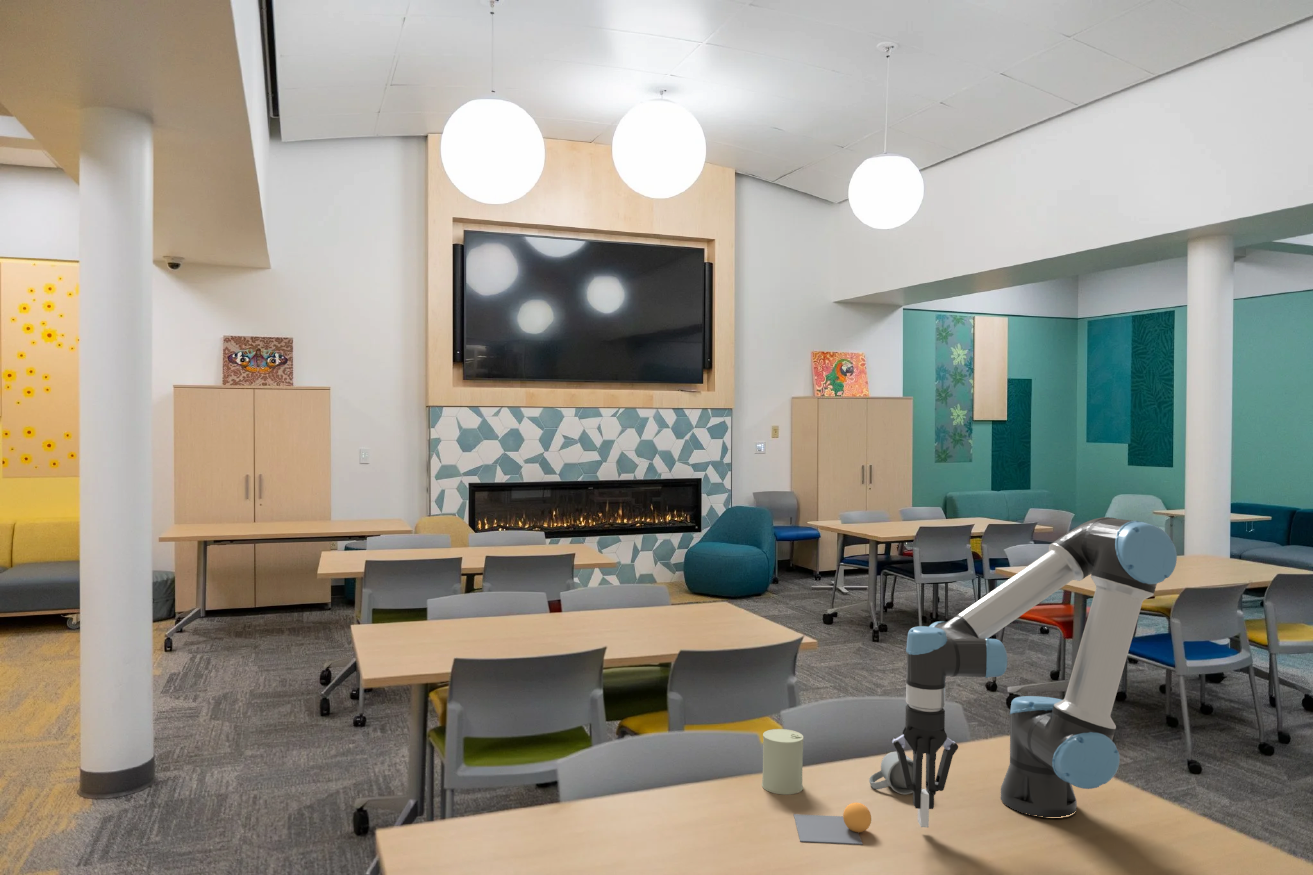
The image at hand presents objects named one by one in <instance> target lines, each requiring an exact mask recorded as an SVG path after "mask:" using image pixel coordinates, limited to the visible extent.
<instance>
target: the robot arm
mask: <svg viewBox="0 0 1313 875" xmlns="http://www.w3.org/2000/svg"><path fill="white" fill-rule="evenodd" d="M1177 554H1178V553H1177V549H1176V546H1175V544H1174V542H1173V541H1172V539H1171V536H1169V534H1168V533H1167V532H1166V531H1165V530H1164V529H1163V528H1161V527H1159V526H1156V525H1155V524H1150V523H1147V522H1144V521H1139V520H1129V519H1122V518H1121V519H1120V518H1114V517H1109V516H1108V517H1107V516H1105V517H1099V518H1093V519H1091V520H1088V521H1085V522H1084V523H1081V524H1080V525H1078V526H1077V527H1075V528H1073V529H1071V530H1069V531H1068V532H1066V533H1065V534H1063V535H1062V536H1060V537H1059V538H1058V539H1056V540H1055V541H1053V542H1051V543H1050V544H1049V545H1048V551H1047V552H1046V553H1044V554H1043V555H1041V556H1040V557H1039V558H1037V559H1036V560H1034V561H1033V562H1031V563H1030V564H1029V565H1026V567H1024V568H1023V569H1021V570H1020V571H1019V572H1017V573H1016V574H1014V575H1013V576H1011V577H1010V578H1008V579H1007V580H1005V581H1004V582H1002V583H1000V585H998V586H997V587H995V588H994V589H993V590H991V591H989V592H988V593H986V595H984V596H983V597H981V598H980V599H979V600H977V601H976V602H975V601H974V603H972V604H970V606H968V607H967V608H965V609H963V610H962V611H961V612H960V613H958V614H957V615H954V616H953V617H952V618H951V619H949V620H947V621H943V620H942V621H935V622H932V623H931V624H930V625H929V626H926V625H925V626H924V625H922V626H914V627H912V628H910V629H909V630H908V632H907V638H906V648H905V652H906V678H905V679H906V681H905V682H906V684H905V685H906V686H905V688H906V689H905V702H906V703H907V704H906V705H905V718H904V719H905V721H904V723H905V725H904V728H903V730H902V734H901V735H900V736H897V737H892V738H891V741H890V742H891V743H892V744H893V747H894V748H895V750H896V752H897V755H898V759H899V764H900V768H901V773H902V777H903V782H904V784H905V786H906V788H907V789H908V790H913V793H912V804H913V807H914V809H917V823H918V825H919V826H920V828H929V825H930V822H929V821H930V819H929V818H930V815H929V814H930V813H929V812H930V810H934V809H935V808H934V807H935V795H936V794H937V792H943V791H944V790H945V787H946V784H947V780H948V775H949V771H950V767H951V764H952V761H953V757H954V755H955V753H956V752H957V751H958V749H959V745H958V744H957V742H955V740H954V739H950V738H949V737H948V733H946V731H945V729H946V728H945V726H946V722H945V721H946V718H945V717H946V711H945V709H944V708H945V707H946V683H947V682H946V679H947V677H948V678H949V677H951V678H954V677H957V678H985V679H988V678H995V677H997V678H998V677H1001V676H1003V675H1004V674H1005V673H1006V671H1007V668H1008V654H1007V653H1008V652H1007V649H1006V647H1005V645H1004V644H1003V642H1002V641H1001V640H999V639H996V638H992V636H994V635H995V634H996V633H998V632H999V631H1000V630H1003V628H1005V627H1006V626H1008V625H1009V624H1010V623H1012V622H1014V621H1015V620H1017V619H1018V618H1020V617H1021V616H1023V615H1024V614H1025V613H1027V612H1028V611H1030V610H1032V609H1033V608H1034V607H1036V606H1037V605H1038V604H1040V603H1041V602H1043V601H1044V600H1046V599H1047V598H1048V597H1050V596H1051V595H1053V594H1055V593H1056V592H1058V591H1059V590H1060V589H1062V588H1063V587H1065V586H1066V585H1067V584H1069V583H1070V582H1072V581H1076V582H1080V581H1083V579H1085V578H1086V577H1089V576H1090V578H1091V580H1092V582H1093V583H1094V586H1095V591H1094V594H1093V597H1092V601H1091V604H1090V608H1089V612H1088V615H1087V618H1086V622H1085V626H1084V630H1083V631H1082V632H1083V633H1082V635H1081V639H1080V643H1079V647H1078V651H1077V653H1076V658H1075V659H1074V664H1073V668H1072V671H1071V675H1070V678H1069V681H1068V686H1067V688H1066V692H1065V696H1064V698H1063V699H1061V698H1055V697H1049V696H1038V695H1027V696H1026V695H1025V696H1022V695H1021V696H1016V697H1015V698H1013V699H1012V700H1011V703H1010V704H1011V705H1010V712H1009V716H1010V717H1009V718H1010V719H1009V720H1010V721H1009V723H1010V725H1009V766H1008V768H1007V770H1006V773H1005V775H1004V776H1005V777H1004V778H1003V781H1002V783H1001V786H1000V801H1001V800H1002V801H1003V802H1002V801H1001V802H1002V803H1003V804H1004V805H1005V804H1006V805H1007V807H1008V806H1009V807H1010V808H1009V807H1008V808H1009V809H1011V808H1012V809H1011V810H1013V809H1014V811H1015V810H1017V811H1016V812H1018V811H1019V812H1018V813H1020V812H1022V813H1021V814H1023V813H1027V814H1030V815H1037V816H1043V817H1061V816H1066V815H1070V814H1072V813H1074V812H1075V811H1076V812H1077V809H1076V808H1078V806H1077V804H1078V803H1077V797H1076V794H1075V791H1074V788H1073V787H1076V788H1079V789H1086V790H1090V789H1091V790H1092V789H1097V788H1100V786H1103V785H1106V784H1107V783H1108V782H1110V781H1111V780H1112V779H1113V777H1115V775H1116V773H1117V771H1118V769H1119V767H1120V759H1121V758H1120V756H1121V755H1120V752H1119V751H1118V749H1117V748H1118V747H1117V745H1116V744H1115V742H1114V741H1113V740H1114V737H1115V733H1116V729H1117V726H1116V724H1115V722H1114V720H1113V719H1112V717H1111V714H1112V711H1113V707H1114V703H1115V700H1116V696H1117V693H1118V689H1119V687H1120V686H1119V685H1120V683H1121V682H1120V681H1121V680H1122V675H1123V671H1124V668H1125V665H1126V662H1127V658H1128V655H1129V652H1130V651H1129V650H1130V647H1131V644H1132V640H1133V637H1134V633H1135V629H1136V627H1137V623H1138V619H1139V616H1140V612H1141V608H1142V605H1143V602H1144V601H1145V600H1147V599H1148V598H1151V597H1153V596H1154V594H1155V591H1156V587H1157V584H1159V583H1163V582H1164V581H1165V580H1166V579H1168V578H1170V576H1172V574H1173V572H1174V571H1175V569H1176V566H1177V558H1178V555H1177ZM990 637H991V638H990ZM906 742H907V744H908V745H909V747H910V748H911V750H912V760H913V782H912V781H911V777H910V773H909V768H908V764H907V759H906V756H907V754H906V752H905V750H904V749H905V748H906ZM942 746H943V750H942V754H941V757H940V762H939V765H938V769H937V773H936V760H937V753H938V751H939V750H940V749H941V747H942ZM924 754H925V788H923V787H922V786H923V760H924ZM1006 805H1005V806H1006ZM1027 814H1026V815H1027ZM1030 815H1029V816H1030Z"/></svg>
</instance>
